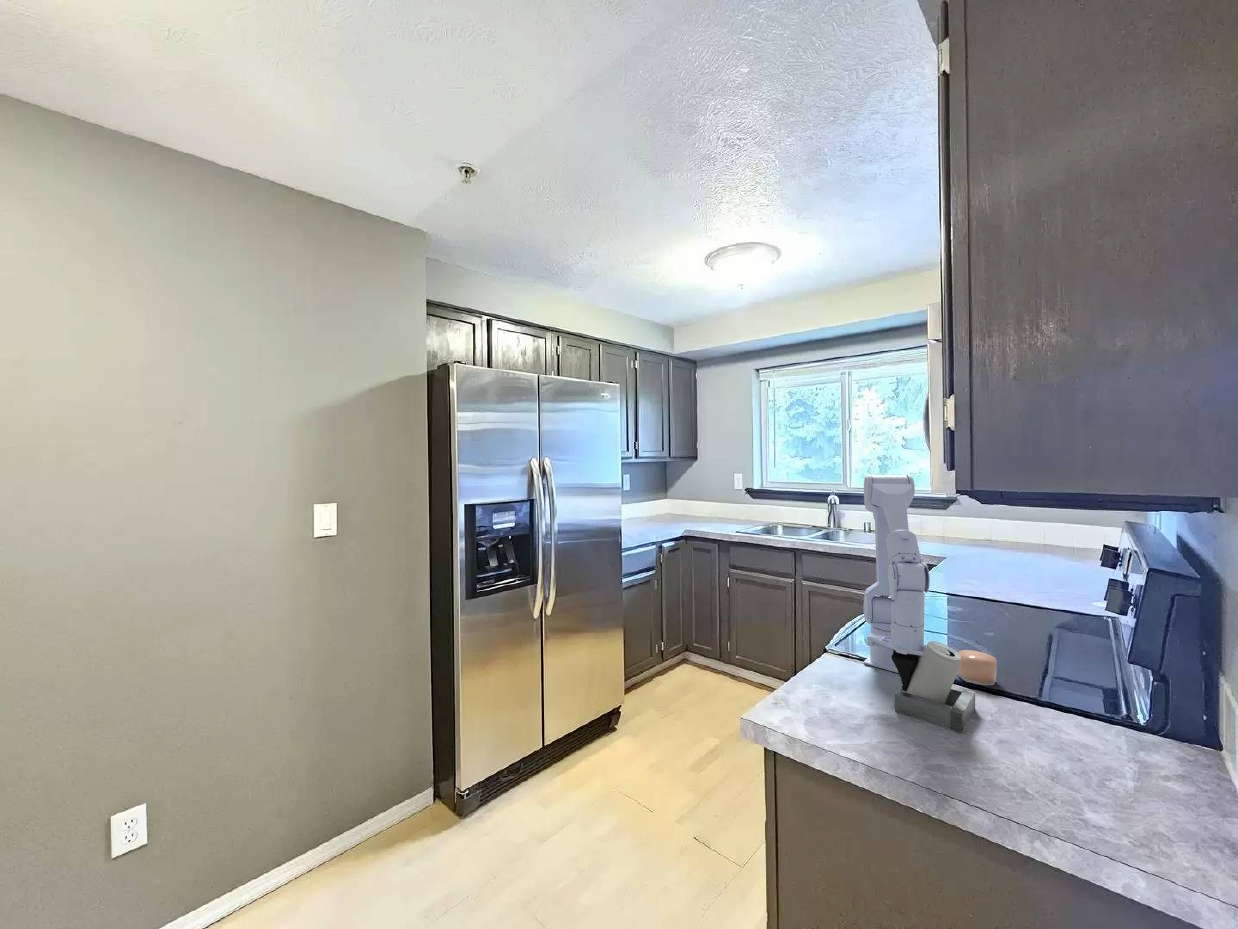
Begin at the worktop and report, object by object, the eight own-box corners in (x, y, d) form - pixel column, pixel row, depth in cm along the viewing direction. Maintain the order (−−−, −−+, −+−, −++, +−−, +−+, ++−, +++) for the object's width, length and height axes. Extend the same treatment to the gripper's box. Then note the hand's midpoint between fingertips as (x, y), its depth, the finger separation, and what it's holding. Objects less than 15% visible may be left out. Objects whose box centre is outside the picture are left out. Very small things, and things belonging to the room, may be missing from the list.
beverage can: (939, 719, 98) (962, 665, 95) (902, 700, 101) (923, 647, 98) (942, 703, 103) (964, 652, 100) (907, 686, 106) (927, 635, 103)
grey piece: (912, 690, 108) (912, 674, 108) (975, 709, 101) (975, 691, 101) (894, 711, 100) (895, 693, 100) (961, 733, 93) (962, 714, 93)
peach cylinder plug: (961, 669, 119) (961, 647, 118) (998, 678, 114) (999, 656, 113) (953, 679, 114) (954, 656, 113) (992, 689, 109) (993, 666, 108)
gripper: (862, 619, 106) (861, 684, 106) (944, 637, 95) (942, 709, 96) (874, 610, 111) (873, 673, 111) (953, 627, 101) (952, 696, 101)
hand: (906, 689), depth 104 cm, fingers closed
